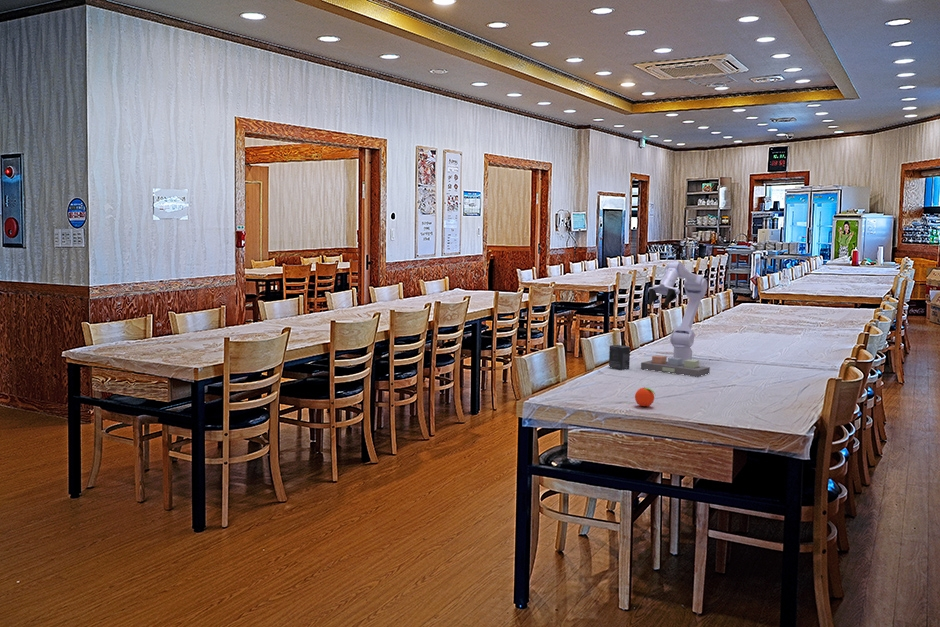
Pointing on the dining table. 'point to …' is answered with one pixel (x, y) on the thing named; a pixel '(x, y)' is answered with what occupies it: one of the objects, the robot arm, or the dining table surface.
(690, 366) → the sage button
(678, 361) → the slate button
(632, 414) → the dining table surface
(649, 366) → the button panel
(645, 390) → the clementine
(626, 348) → the box
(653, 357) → the terracotta button
